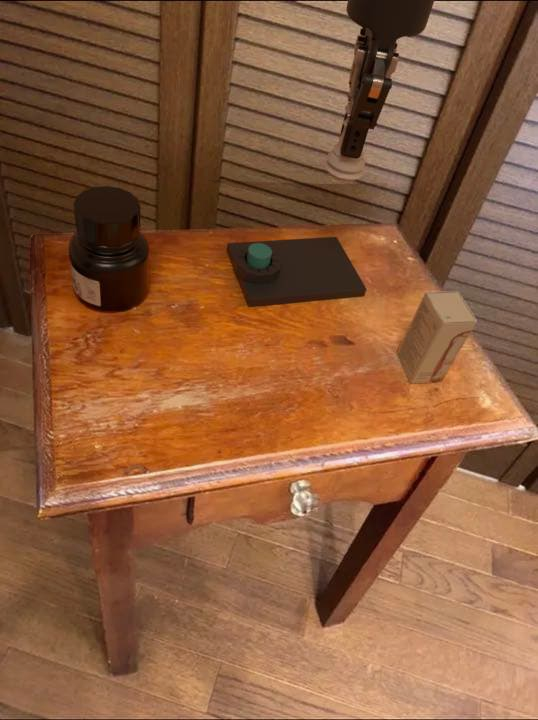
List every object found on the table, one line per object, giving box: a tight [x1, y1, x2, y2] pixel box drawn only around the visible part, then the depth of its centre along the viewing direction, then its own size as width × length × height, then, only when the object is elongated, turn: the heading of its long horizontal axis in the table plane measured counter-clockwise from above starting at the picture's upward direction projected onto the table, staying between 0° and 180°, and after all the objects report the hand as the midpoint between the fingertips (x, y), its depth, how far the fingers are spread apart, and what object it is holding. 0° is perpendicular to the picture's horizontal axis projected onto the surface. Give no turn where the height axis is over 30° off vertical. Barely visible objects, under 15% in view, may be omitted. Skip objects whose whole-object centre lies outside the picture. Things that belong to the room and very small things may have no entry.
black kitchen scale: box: [226, 236, 367, 308], centre depth 77 cm, size 16×11×3 cm, turn 107°
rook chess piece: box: [324, 99, 369, 183], centre depth 63 cm, size 4×4×8 cm
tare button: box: [247, 243, 272, 269], centre depth 74 cm, size 3×3×2 cm
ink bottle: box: [68, 185, 150, 313], centre depth 66 cm, size 10×9×12 cm
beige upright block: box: [396, 291, 478, 384], centre depth 67 cm, size 5×4×10 cm
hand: (349, 146), depth 64 cm, fingers closed on rook chess piece, 3 cm apart
